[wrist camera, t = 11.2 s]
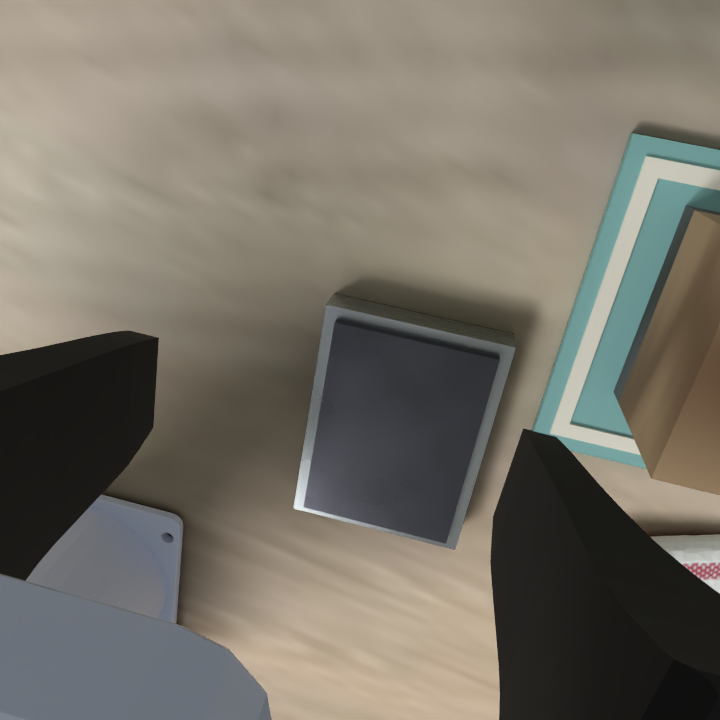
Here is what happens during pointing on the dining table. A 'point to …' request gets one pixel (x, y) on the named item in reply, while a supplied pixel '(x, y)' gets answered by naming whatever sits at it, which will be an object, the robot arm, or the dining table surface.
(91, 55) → the dining table surface
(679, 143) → the marked card
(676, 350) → the hand stamp
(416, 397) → the ink pad
